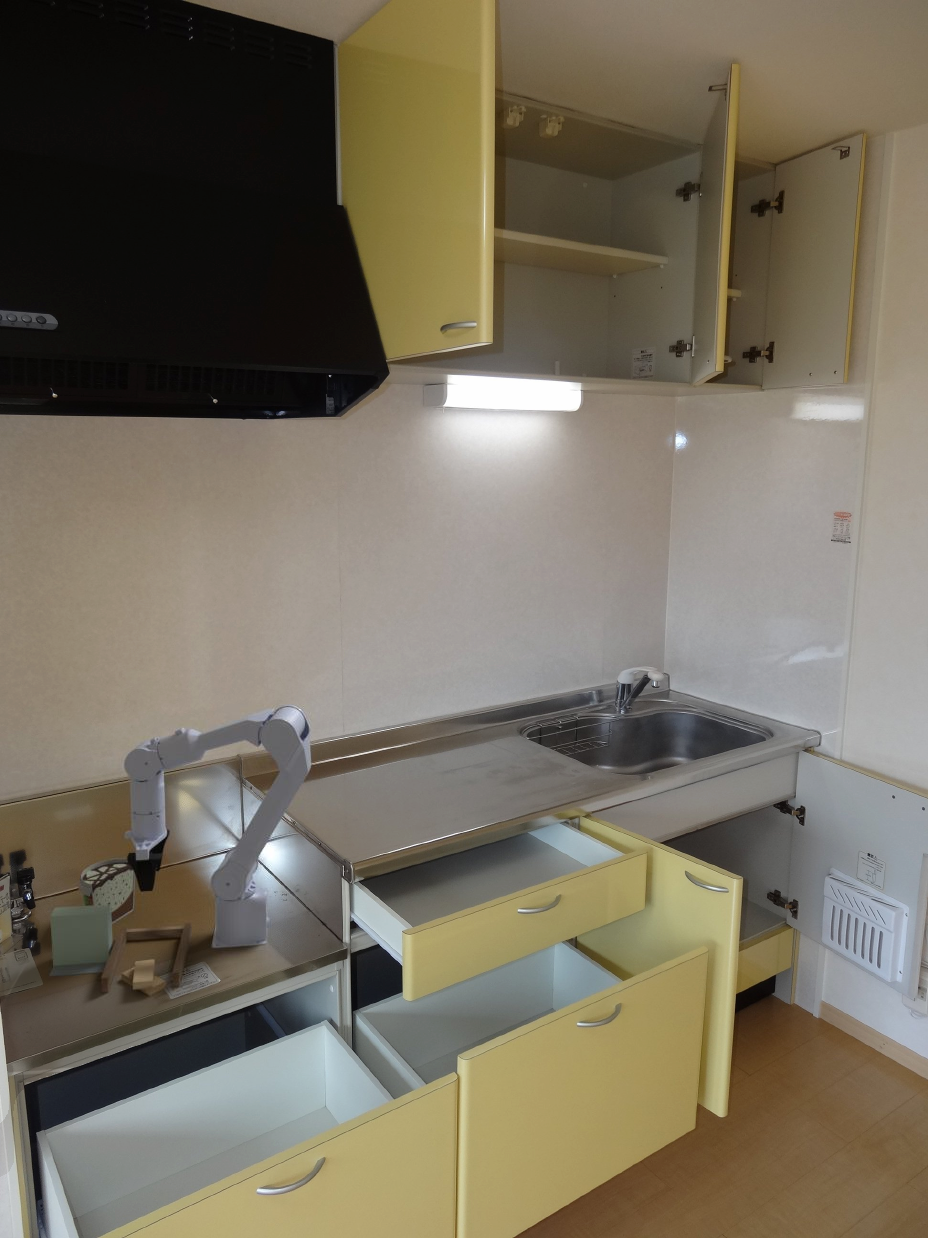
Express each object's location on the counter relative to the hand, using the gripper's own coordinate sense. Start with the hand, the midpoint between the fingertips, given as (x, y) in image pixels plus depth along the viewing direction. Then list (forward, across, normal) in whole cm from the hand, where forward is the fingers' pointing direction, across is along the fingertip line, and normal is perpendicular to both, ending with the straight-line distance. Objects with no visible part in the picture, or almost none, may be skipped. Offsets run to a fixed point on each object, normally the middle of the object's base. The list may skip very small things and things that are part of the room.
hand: (150, 880), depth 161 cm
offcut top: (+9, +17, +1) cm, 19 cm away
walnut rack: (+10, +10, +1) cm, 15 cm away
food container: (+11, -7, -10) cm, 16 cm away
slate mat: (+10, +8, -10) cm, 16 cm away
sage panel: (+10, +8, -10) cm, 16 cm away
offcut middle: (+10, +17, +1) cm, 19 cm away
